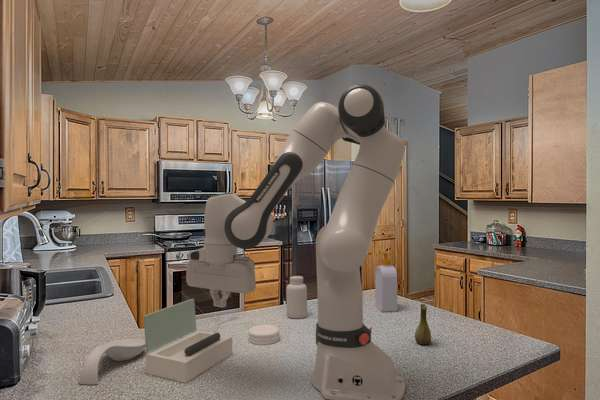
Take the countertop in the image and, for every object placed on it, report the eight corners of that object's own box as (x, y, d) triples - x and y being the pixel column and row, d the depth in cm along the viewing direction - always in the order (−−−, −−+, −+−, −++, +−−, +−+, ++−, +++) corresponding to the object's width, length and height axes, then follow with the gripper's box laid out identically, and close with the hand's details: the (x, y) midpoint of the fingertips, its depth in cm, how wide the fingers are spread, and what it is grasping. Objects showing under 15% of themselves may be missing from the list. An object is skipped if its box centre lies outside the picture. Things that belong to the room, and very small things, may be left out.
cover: (194, 298, 119) (192, 298, 120) (145, 315, 102) (143, 315, 102) (196, 330, 119) (194, 330, 119) (148, 352, 102) (146, 352, 102)
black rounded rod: (221, 339, 112) (221, 332, 112) (188, 357, 99) (188, 349, 99) (216, 338, 113) (216, 331, 113) (182, 355, 100) (182, 348, 100)
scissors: (240, 315, 151) (223, 332, 131) (240, 317, 151) (223, 334, 131) (214, 314, 152) (193, 331, 133) (214, 316, 152) (193, 333, 133)
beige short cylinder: (242, 342, 123) (242, 331, 123) (258, 333, 132) (258, 322, 132) (269, 347, 119) (269, 336, 119) (284, 337, 128) (284, 326, 128)
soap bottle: (373, 306, 164) (373, 251, 164) (389, 305, 164) (389, 251, 164) (380, 312, 155) (380, 254, 155) (397, 311, 155) (397, 254, 155)
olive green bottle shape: (426, 347, 118) (426, 308, 118) (411, 343, 121) (410, 305, 121) (434, 342, 122) (434, 304, 122) (419, 338, 125) (419, 301, 125)
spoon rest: (116, 348, 119) (116, 325, 119) (154, 349, 119) (153, 325, 119) (65, 385, 96) (65, 356, 96) (112, 386, 95) (112, 357, 95)
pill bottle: (294, 311, 156) (294, 274, 156) (311, 315, 152) (311, 276, 152) (282, 316, 150) (282, 277, 150) (299, 320, 145) (299, 280, 145)
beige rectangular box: (232, 353, 114) (232, 336, 114) (185, 383, 96) (185, 362, 96) (196, 346, 120) (196, 330, 120) (146, 373, 101) (146, 354, 101)
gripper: (260, 255, 102) (259, 308, 102) (198, 250, 111) (197, 299, 111) (247, 258, 96) (246, 314, 96) (182, 252, 105) (181, 304, 105)
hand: (219, 306), depth 104 cm, fingers closed
